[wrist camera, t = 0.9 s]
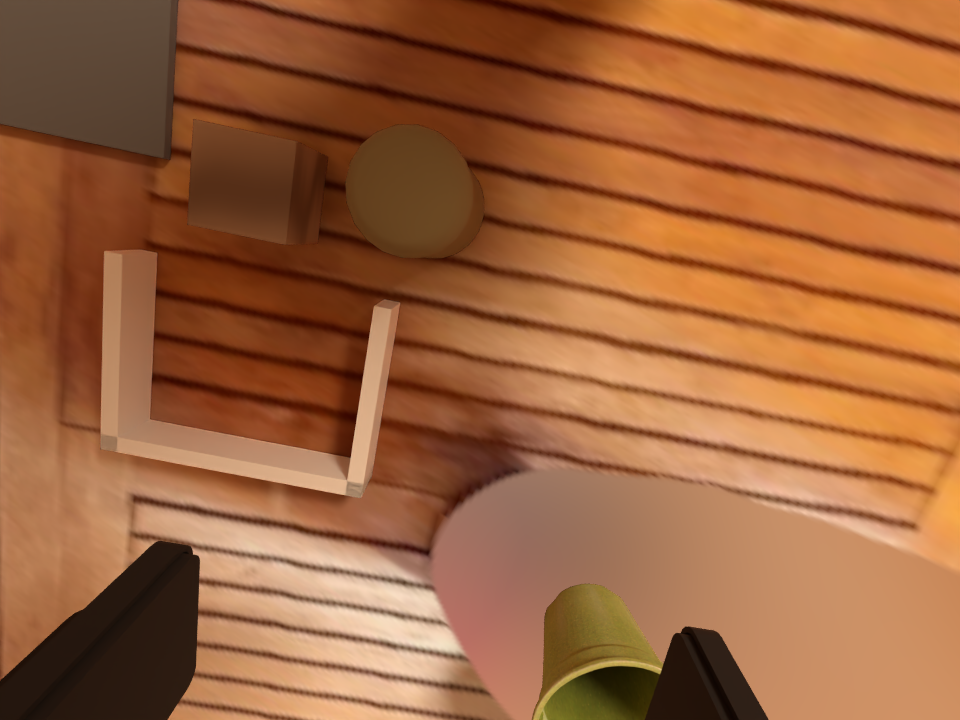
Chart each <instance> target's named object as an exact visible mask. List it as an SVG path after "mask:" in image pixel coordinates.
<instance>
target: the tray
mask: <svg viewBox="0 0 960 720" xmlns="http://www.w3.org/2000/svg"><path fill="white" fill-rule="evenodd" d="M156 275H157V253H156V252H151V251H146V250H141V249H140V250H114V251H104V282H103V335H102V389H101V442H100V449H103V450H108V451H113V452H118V453H124V454H129V455H134V456H140V457H145V458H150V459H156V460H161V461H166V462H171V463H177V464H182V465H187V466H193V467H198V468H203V469H209V470H214V471H219V472H224V473H230V474H235V475H240V476H246V477H251V478H256V479H262V480H267V481H272V482H278V483H283V484H288V485H293V486H299V487H304V488H309V489H315V490H320V491H325V492H331V493H336V494H341V495H346V496H352V497H357V498H361V497H362V495H363V493H364V491H365V489H366V487H367V485H368V482H369V480H370V478H371V476H372V471H373V465H374V459H375V453H376V447H377V441H378V435H379V429H380V423H381V417H382V411H383V405H384V399H385V393H386V387H387V381H388V375H389V369H390V363H391V357H392V351H393V345H394V339H395V333H396V327H397V321H398V314H399V308H400V302H395V301H391V300H386V299H384V300H383V301H381V302H379V303H378V304H376V305H375V306H374V309H373V316H372V322H371V329H370V335H369V342H368V348H367V355H366V361H365V368H364V374H363V381H362V388H361V394H360V401H359V407H358V414H357V420H356V427H355V433H354V440H353V446H352V453H351V458H349V457H344V456H339V455H333V454H328V453H323V452H318V451H313V450H307V449H302V448H297V447H292V446H286V445H281V444H276V443H271V442H266V441H260V440H255V439H250V438H245V437H240V436H234V435H229V434H224V433H219V432H213V431H208V430H203V429H198V428H193V427H187V426H182V425H177V424H172V423H166V422H161V421H156V420H151V419H150V409H151V387H152V364H153V342H154V320H155V297H156Z"/></svg>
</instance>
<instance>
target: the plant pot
mask: <svg viewBox="0 0 960 720" xmlns="http://www.w3.org/2000/svg"><path fill="white" fill-rule="evenodd" d="M544 620H545V622H544V662H543V684H542V689H541V693H540V696H539V701H538V702H537V704H536V707H535V709H534V713H533V717H532V720H645V717H646V714H647V711H648V708H649V705H650V702H651V699H652V697H653V694H654V691H655V688H656V685H657V682H658V679H659V676H660V673H661V670H662V667H663V663H662V662H661V661H660V660H659V659H658V657H657V656H656V654H655V652H654V651H653V649H652V648H651V646H650V645H649V643H648V641H647V640H646V638H645V636H644V635H643V633H642V631H641V630H640V628H639V627H638V625H637V623H636V621H635V620H634V618H633V616H632V615H631V613H630V611H629V610H628V608H627V607H626V605H625V603H624V602H623V600H622V599H621V598H620V597H619V596H617V595H616V594H614V593H613V592H611V591H610V590H608V589H606V588H605V587H603V586H600V585H596V584H581V585H576V586H572V587H570V588H568V589H565V590H564V591H562V592H561V593H560V594H559V595H558V596H557V598H556V599H555V600H554V601H553V602H552V604H551V605H550V606H549V607H548V608H547V610H546V613H545V619H544Z"/></svg>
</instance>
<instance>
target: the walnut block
mask: <svg viewBox="0 0 960 720" xmlns="http://www.w3.org/2000/svg"><path fill="white" fill-rule="evenodd" d="M327 162H328V157H327V156H325V155H323V154H321V153H319V152H317V151H315V150H313V149H311V148H309V147H307V146H305V145H303V144H301V143H299V142H297V141H294V140H289V139H284V138H280V137H275V136H270V135H266V134H261V133H257V132H252V131H247V130H243V129H238V128H233V127H229V126H224V125H219V124H215V123H210V122H205V121H201V120H196V119H193V134H192V151H191V168H190V185H189V202H188V220H187V225H192V226H196V227H201V228H206V229H211V230H216V231H221V232H225V233H230V234H235V235H240V236H245V237H250V238H254V239H259V240H264V241H269V242H274V243H279V244H283V245H298V244H318V237H319V229H320V220H321V212H322V204H323V196H324V187H325V179H326V171H327Z"/></svg>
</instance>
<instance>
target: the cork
mask: <svg viewBox="0 0 960 720" xmlns="http://www.w3.org/2000/svg"><path fill="white" fill-rule="evenodd" d="M345 184H346V200H347V205H348V207H349V210H350V213H351V216H352V218H353V221H354V224H355V225H356V226H357V228H358V229H359V230H360V231H361V233H362V234H363V235H364V237H365V238H366V239H367V240H368V241H369V242H370V243H372V244H373V245H375V246H376V247H377V248H379V249H380V250H382V251H383V252H386V253H389V254H392V255H395V256H398V257H401V258H423V257H425V258H445V257H448V256H451V255H454V254H457V253H458V252H460V251H461V250H462V249H464V248H465V247H466V246H468V245H469V244H470V243H471V242H472V240H473V239H474V237H475V236H476V234H477V233H478V232H479V229H480V226H481V223H482V220H483V217H484V197H483V193H482V190H481V187H480V184H479V181H478V180H477V179H476V177H475V176H474V174H473V173H472V171H471V170H470V168H468V165H467V162H466V161H465V159H464V158H463V156H462V155H461V153H460V152H459V151H458V149H457V148H456V146H455V145H454V144H453V143H452V142H450V141H449V140H448V139H447V138H445V137H444V136H443V135H441V134H440V133H439V132H438V131H435V130H432V129H429V128H426V127H423V126H420V125H394V126H392V127H389V128H386V129H383V130H381V131H378V132H376V133H375V134H373V135H372V136H371V137H370V138H368V139H367V140H366V141H365V142H364V143H362V144H361V145H360V147H359V149H358V150H357V152H356V153H355V155H354V157H353V158H352V160H351V162H350V165H349V169H348V173H347V177H346V181H345Z"/></svg>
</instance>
